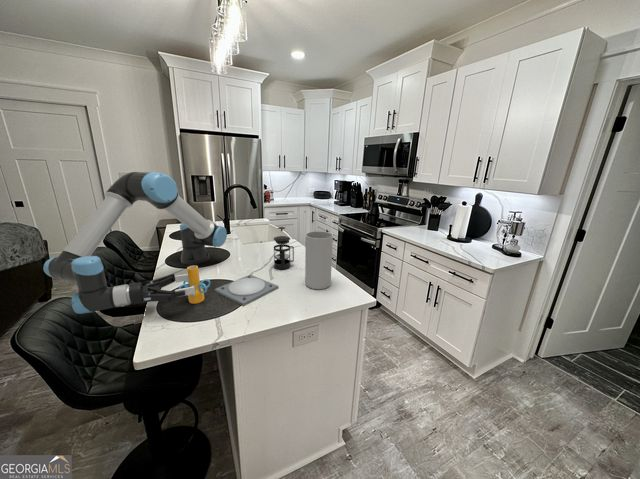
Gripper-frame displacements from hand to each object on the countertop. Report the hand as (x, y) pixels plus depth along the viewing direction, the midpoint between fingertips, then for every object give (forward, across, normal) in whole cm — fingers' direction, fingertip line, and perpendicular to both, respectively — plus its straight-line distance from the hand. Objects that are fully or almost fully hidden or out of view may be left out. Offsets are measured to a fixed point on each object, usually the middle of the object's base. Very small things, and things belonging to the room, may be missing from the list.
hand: (193, 282), depth 104 cm
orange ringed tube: (0, 0, -9) cm, 9 cm away
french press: (+46, -19, -9) cm, 50 cm away
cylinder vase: (+53, +9, -9) cm, 55 cm away
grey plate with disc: (+21, 0, -8) cm, 23 cm away
